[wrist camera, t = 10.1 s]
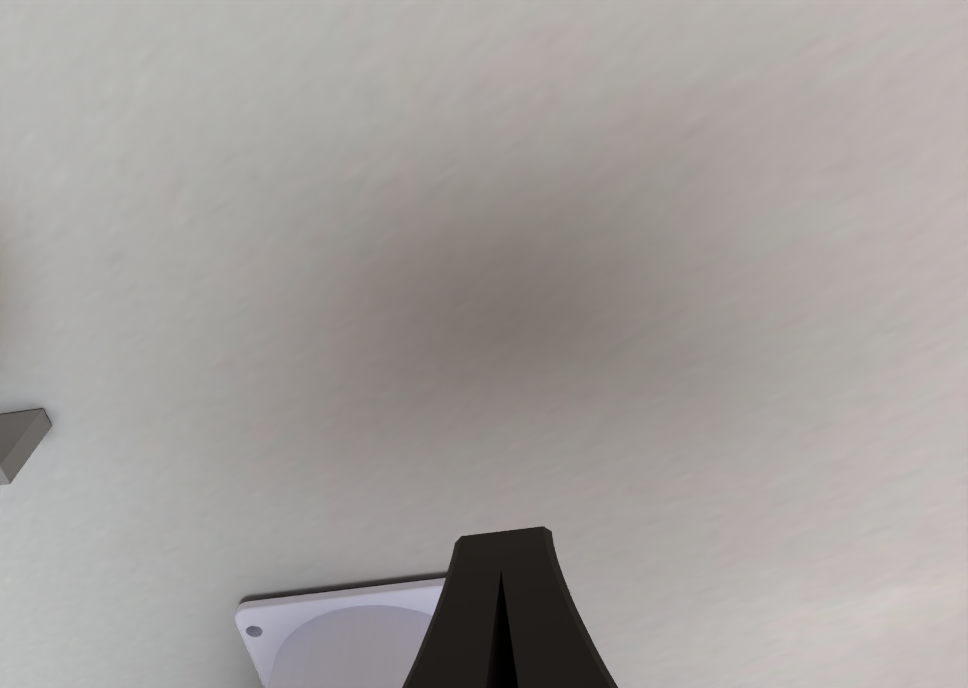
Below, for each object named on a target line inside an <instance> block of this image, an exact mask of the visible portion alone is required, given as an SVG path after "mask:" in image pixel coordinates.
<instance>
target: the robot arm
mask: <svg viewBox="0 0 968 688" xmlns="http://www.w3.org/2000/svg"><path fill="white" fill-rule="evenodd" d="M234 619H235V623H236V625H237V627H238V630H239V632H240V634H241V636H242V639H243V641H244V643H245V645H246V648H247V650H248V652H249V654H250V657H251V659H252V661H253V664H254V666H255V668H256V670H257V673H258V675H259V677H260V679H261V682H262V684H263V686H264V688H618V687H617V685H616V683H615V682H614V680H613V678H612V676H611V675H610V673H609V671H608V670H607V668H606V666H605V664H604V662H603V660H602V659H601V657H600V655H599V653H598V651H597V649H596V648H595V646H594V643H593V641H592V639H591V637H590V635H589V633H588V631H587V629H586V627H585V625H584V623H583V621H582V619H581V617H580V615H579V613H578V611H577V609H576V606H575V604H574V602H573V600H572V597H571V595H570V592H569V590H568V587H567V585H566V582H565V580H564V577H563V574H562V571H561V569H560V566H559V563H558V559H557V556H556V552H555V548H554V544H553V537H552V532H551V531H550V530H548V529H547V528H545V527H543V526H542V527H534V528H526V529H517V530H509V531H501V532H493V533H484V534H476V535H468V536H461V537H460V538H459V539H458V540H457V542H456V543H455V546H454V550H453V555H452V559H451V562H450V566H449V569H448V573H447V576H446V578H440V579H432V580H423V581H415V582H406V583H398V584H390V585H381V586H373V587H365V588H356V589H348V590H339V591H331V592H323V593H314V594H306V595H298V596H289V597H281V598H273V599H264V600H256V601H248V602H244V603H242V604H240V605H239V606H238V608H237V610H236V613H235V616H234ZM254 626H257V627H254Z"/></svg>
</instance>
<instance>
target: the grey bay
mask: <svg viewBox="0 0 968 688" xmlns="http://www.w3.org/2000/svg"><path fill="white" fill-rule="evenodd" d="M51 426H52V425H51V424H50V422H49V420H48V418H47V416H46V414H45V412H44V410H43V409H37V410H30V411H23V412H16V413H8V414H1V415H0V485H6V484H10V483H11V482H12V481H13V479H14V478H15V476H16V475H17V474H18V472H19V471H20V469H21V468H22V467H23V465H24V464H25V463H26V461H27V460H28V458H29V457H30V456H31V454H32V453H33V451H34V450H35V449H36V447H37V446H38V444H39V443H40V442H41V440H42V439H43V437H44V436H45V435H46V433H47V432H48V431H49V429H50V428H51Z"/></svg>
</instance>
